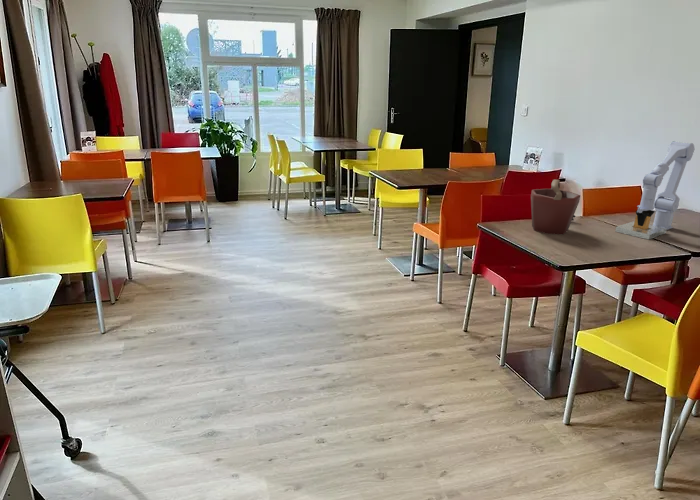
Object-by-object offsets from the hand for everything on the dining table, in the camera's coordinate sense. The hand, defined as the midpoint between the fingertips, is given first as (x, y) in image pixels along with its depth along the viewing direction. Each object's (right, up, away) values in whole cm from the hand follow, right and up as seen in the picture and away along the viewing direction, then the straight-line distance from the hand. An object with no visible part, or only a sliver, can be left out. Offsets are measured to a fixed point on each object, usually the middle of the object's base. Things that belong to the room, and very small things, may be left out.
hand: (642, 224), depth 253 cm
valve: (-34, +2, +16) cm, 38 cm away
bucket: (-47, -2, +1) cm, 47 cm away
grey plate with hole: (0, -4, +1) cm, 4 cm away
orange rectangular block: (0, -2, +1) cm, 2 cm away
